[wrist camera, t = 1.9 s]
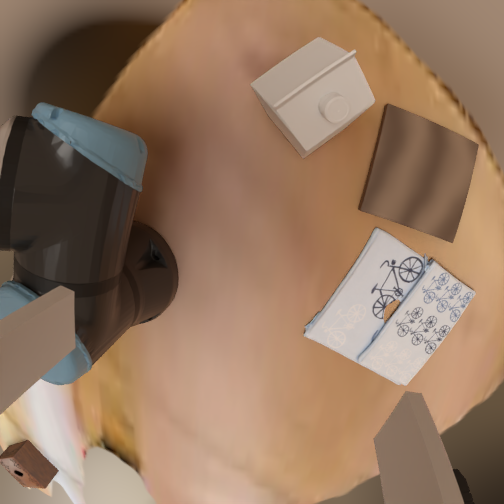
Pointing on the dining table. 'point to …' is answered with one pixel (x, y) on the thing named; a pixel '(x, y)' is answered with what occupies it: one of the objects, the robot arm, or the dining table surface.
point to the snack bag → (404, 318)
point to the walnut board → (419, 174)
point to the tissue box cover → (28, 465)
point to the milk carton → (314, 94)
